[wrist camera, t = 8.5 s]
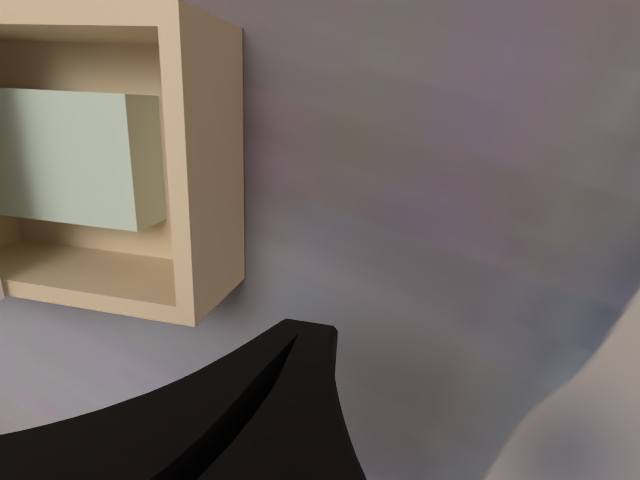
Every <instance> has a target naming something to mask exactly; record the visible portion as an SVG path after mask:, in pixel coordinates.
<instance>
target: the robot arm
mask: <svg viewBox="0 0 640 480" xmlns="http://www.w3.org/2000/svg"><path fill="white" fill-rule="evenodd" d="M337 335H338V331H337V330H336V328H335V327H334V326H330V325H324V324H318V323H311V322H305V321H298V320H292V319H284V320H283V321H281V322H279V323H278V324H276V325H274V326H273V327H271V328H270V329H268V330H267V331H265V332H263V333H262V334H260V335H259V336H257V337H256V338H254V339H252V340H251V341H249V342H247V343H246V344H244V345H243V346H241V347H239V348H238V349H236V350H234V351H233V352H231V353H229V354H227V355H226V356H224V357H222V358H220V359H218V360H216V361H215V362H213V363H211V364H209V365H207V366H205V367H204V368H202V369H200V370H198V371H196V372H194V373H192V374H190V375H188V376H186V377H184V378H181V379H179V380H177V381H175V382H172V383H170V384H168V385H166V386H163V387H161V388H159V389H156V390H154V391H151V392H149V393H146V394H143V395H140V396H138V397H135V398H132V399H129V400H126V401H123V402H121V403H118V404H115V405H112V406H109V407H106V408H104V409H100V410H97V411H94V412H91V413H87V414H84V415H80V416H77V417H74V418H70V419H66V420H62V421H59V422H55V423H51V424H47V425H43V426H39V427H35V428H31V429H27V430H22V431H18V432H13V433H8V434H3V435H0V480H367V479H366V477H365V475H364V472H363V470H362V468H361V466H360V463H359V461H358V459H357V456H356V454H355V451H354V448H353V445H352V443H351V440H350V437H349V434H348V431H347V428H346V424H345V421H344V418H343V414H342V410H341V406H340V402H339V397H338V392H337V387H336V381H335V364H336V349H337Z"/></svg>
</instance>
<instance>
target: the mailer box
mask: <svg viewBox="0 0 640 480" xmlns="http://www.w3.org/2000/svg"><path fill="white" fill-rule="evenodd" d="M0 278H1V283H2V288H3V293H4V295H6V296H12V297H18V298H24V299H30V300H36V301H42V302H48V303H54V304H60V305H66V306H72V307H78V308H84V309H90V310H96V311H102V312H108V313H114V314H120V315H126V316H132V317H138V318H144V319H150V320H156V321H162V322H168V323H174V324H180V325H186V326H192V327H196V326H197V325H198V324H199V323H200V322H201V321H202V320H203V319H204V318H205V317H206V316H207V315H208V314H209V313H210V312H211V311H212V310H213V309H214V308H215V307H216V306H217V305H218V304H219V303H220V302H221V301H222V300H223V299H224V298H225V297H226V296H227V295H228V294H229V293H230V292H231V291H232V290H233V289H234V288H235V287H236V286H237V285H238V284H239V283H240V282H241V281H242V280H244V279H245V257H244V148H243V38H242V28H241V27H238V26H236V25H234V24H232V23H230V22H227V21H225V20H223V19H221V18H219V17H216V16H214V15H212V14H210V13H208V12H205V11H203V10H201V9H199V8H197V7H194V6H192V5H190V4H188V3H186V2H183V1H181V0H0Z"/></svg>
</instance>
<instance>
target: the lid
mask: <svg viewBox="0 0 640 480" xmlns="http://www.w3.org/2000/svg"><path fill="white" fill-rule="evenodd" d="M4 299H5V298H4V293H3V288H2V283H1V278H0V301H2V300H4Z"/></svg>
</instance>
